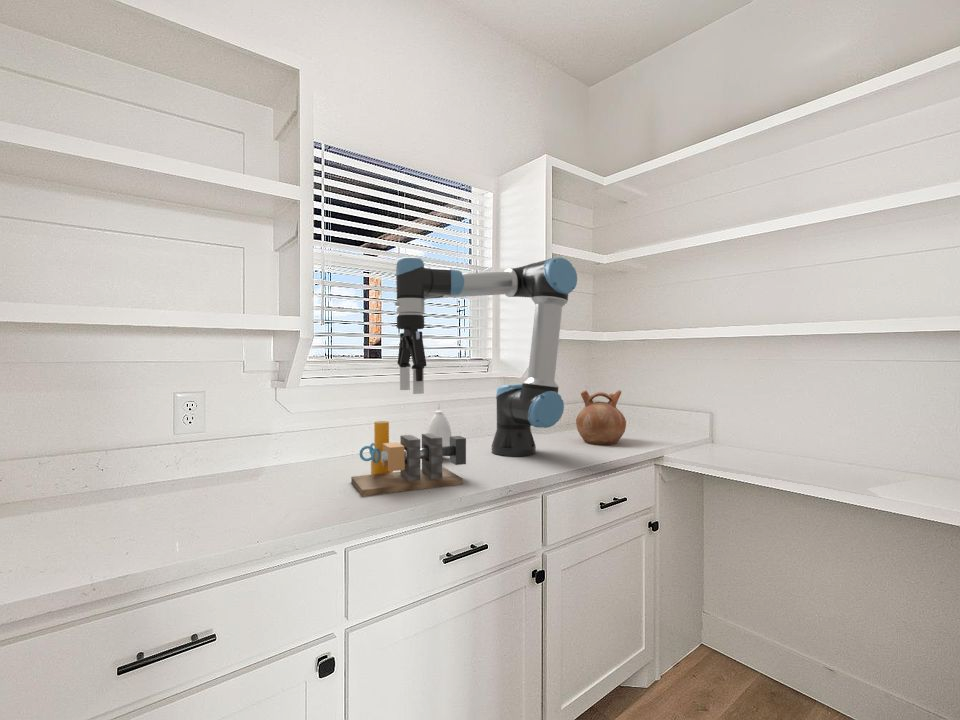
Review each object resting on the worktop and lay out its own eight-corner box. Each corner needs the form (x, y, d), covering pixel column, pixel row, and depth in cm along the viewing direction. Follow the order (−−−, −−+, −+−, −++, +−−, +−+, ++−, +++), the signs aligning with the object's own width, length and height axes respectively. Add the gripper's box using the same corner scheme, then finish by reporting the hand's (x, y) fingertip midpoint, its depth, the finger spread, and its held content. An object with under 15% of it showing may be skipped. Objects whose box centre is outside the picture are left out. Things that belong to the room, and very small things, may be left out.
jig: (443, 472, 144) (443, 430, 144) (462, 484, 131) (462, 438, 131) (351, 482, 133) (351, 437, 133) (362, 496, 120) (362, 446, 120)
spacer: (397, 464, 134) (397, 442, 134) (404, 469, 129) (404, 446, 128) (382, 466, 133) (382, 443, 133) (389, 471, 127) (389, 447, 127)
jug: (624, 439, 198) (624, 388, 198) (627, 447, 181) (627, 392, 180) (577, 437, 202) (577, 387, 202) (575, 445, 185) (575, 391, 184)
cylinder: (391, 482, 133) (391, 425, 133) (354, 480, 135) (354, 424, 135) (407, 471, 145) (407, 419, 145) (373, 469, 147) (373, 418, 147)
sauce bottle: (442, 462, 157) (442, 404, 157) (422, 459, 161) (422, 403, 161) (455, 457, 164) (455, 402, 164) (436, 455, 168) (436, 401, 168)
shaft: (459, 460, 141) (459, 435, 141) (466, 464, 137) (465, 438, 137) (380, 468, 131) (379, 441, 131) (384, 472, 127) (384, 444, 127)
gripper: (386, 317, 149) (387, 389, 149) (409, 311, 126) (410, 396, 126) (411, 317, 152) (412, 388, 152) (438, 311, 129) (438, 394, 129)
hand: (411, 391), depth 139 cm, fingers open, 13 cm apart
